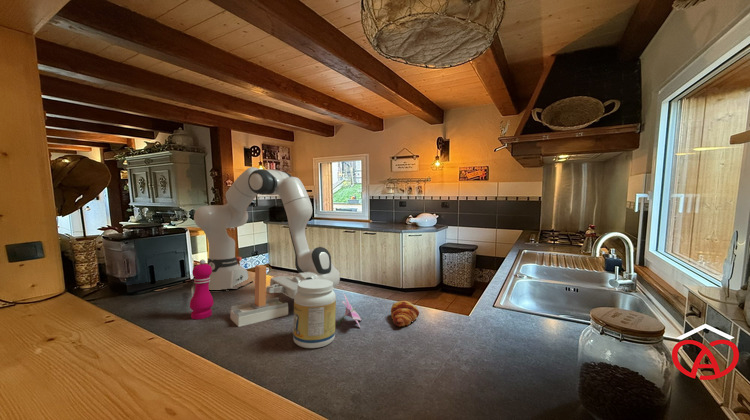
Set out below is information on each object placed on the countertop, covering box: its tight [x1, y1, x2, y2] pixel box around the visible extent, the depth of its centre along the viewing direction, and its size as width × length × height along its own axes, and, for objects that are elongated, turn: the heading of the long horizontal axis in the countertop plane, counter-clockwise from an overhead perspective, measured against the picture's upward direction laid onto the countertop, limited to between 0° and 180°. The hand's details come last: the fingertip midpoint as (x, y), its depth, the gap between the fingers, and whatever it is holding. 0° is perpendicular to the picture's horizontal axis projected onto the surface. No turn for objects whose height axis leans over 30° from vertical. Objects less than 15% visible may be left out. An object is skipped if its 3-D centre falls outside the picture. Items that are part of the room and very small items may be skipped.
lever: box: [250, 264, 269, 309], centre depth 103 cm, size 4×6×15 cm, turn 42°
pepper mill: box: [189, 259, 215, 320], centre depth 102 cm, size 7×7×20 cm
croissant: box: [390, 300, 420, 327], centre depth 104 cm, size 21×10×8 cm, turn 166°
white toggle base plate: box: [229, 296, 289, 328], centre depth 103 cm, size 17×9×4 cm, turn 132°
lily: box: [337, 292, 362, 328], centre depth 98 cm, size 12×12×10 cm
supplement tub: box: [292, 279, 337, 349], centre depth 86 cm, size 12×12×17 cm
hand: (268, 290), depth 105 cm, fingers closed
